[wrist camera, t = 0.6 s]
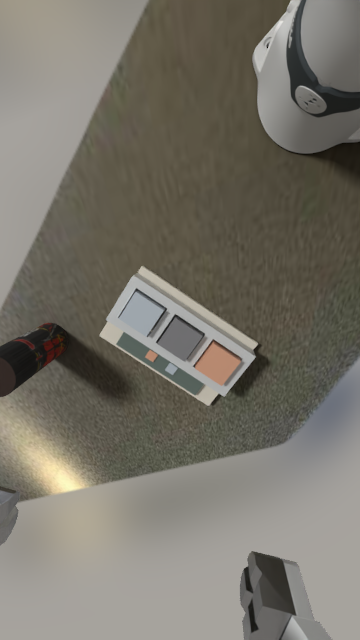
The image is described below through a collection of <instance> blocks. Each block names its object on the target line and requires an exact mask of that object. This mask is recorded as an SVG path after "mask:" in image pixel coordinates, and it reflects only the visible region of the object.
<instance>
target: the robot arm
mask: <svg viewBox="0 0 360 640" xmlns="http://www.w3.org/2000/svg"><path fill="white" fill-rule="evenodd" d="M268 45H269V46H268ZM266 46H268V49H267V47H266ZM252 60H253V66H254V69H255V72H256V75H257V78H258V97H257V102H258V111H259V116H260V119H261V122H262V125H263V127H264V129H265V130H266V132H267V133H268V135H269V136H270V137H271V138H272V140H273V141H275V142H276V143H277V144H278V145H280V146H281V147H283V148H285V149H287V150H289V151H292V152H296V153H305V154H308V153H316V152H320V151H323V150H326V149H328V148H331V147H333V146H335V145H337V144H340V143H351V142H360V0H291V2H290V4H289V5H288V7H287V11H286V13H285V14H284V15H283V16H282V17H281V18H280V20H279V21H278V22H277V23H276V24H275V25H274V27H273V28H272V29H271V30H270V31H269V33H268V34H267V35H266V36H265V37H264V38H263V40H262V41H261V42H260V43H259V44H258V45H257V47H256V49H255V51H254V53H253V58H252ZM19 495H20V492H18V491H14V490H11V489H8V488H4V487H1V486H0V545H1V544H3V543H4V542H5V541H6V540H7V538H8V537H9V535H10V534H11V532H12V529H13V527H14V525H15V523H16V519H17V516H18V509H17V507H16V506H15V505H16V504H17V502H18V501H19ZM240 601H241V605H242V607H243V608H244V611H245V612H246V613H245V616H244V618H243V621H242V622H243V632H244V640H332V639H331V637H330V636H329V635H328V633H327V632H326V631H325V629H324V628H323V627H322V625H321V624H320V622H317V621H315V620H314V617H313V614H312V610H311V607H310V603H309V600H308V597H307V593H306V590H305V586H304V583H303V580H302V576H301V573H300V569H299V566H298V564H297V563H296V562H293V561H289V560H285V559H280V558H278V557H274V556H270V555H265V554H262V553H257V552H253V551H252V552H251V553H250V554H249V556H248V567H246V568H244V570H243V573H242V576H241V583H240Z"/></svg>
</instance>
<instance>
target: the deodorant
mask: <svg viewBox="0 0 360 640" xmlns="http://www.w3.org/2000/svg"><path fill="white" fill-rule="evenodd" d="M67 346H68V337H67V334H66V332H65V331H64V330H63V329H62V328H61V327H60V326H58V325H56V324H53V323H46V324H43V325H41V326H39V327H38V328H36V329H34V330H32V331H30V332H28V333H26V334H24V335H22V336H20V337H18V338H16V339H14V340H12V341H10V342H8V343H6V344H4V345H2V346H0V397H3V396H6V395H8V394H10V393H11V392H12V391H14V390H15V389H16V388H17V387H19V386H20V385H21V384H23V383H24V382H25V381H26V380H28V379H29V378H30V377H32V376H33V375H34V374H36V373H37V372H38V371H39V370H41V369H42V368H43V367H45V366H46V365H47V364H49V363H50V362H51V361H52V360H54V359H55V358H56V357H58V356H59V355H60V354H62V353H63V352H64V351H65V350H66V348H67Z"/></svg>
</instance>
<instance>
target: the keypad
mask: <svg viewBox="0 0 360 640" xmlns="http://www.w3.org/2000/svg"><path fill="white" fill-rule="evenodd" d="M137 290H140V291H142V292H143V293H145V294H146V295H148V296H149V297H151V298H152V299H154V300H155V301H157V302H158V303H160V304H161V305H163V306H164V307H166V308H165V310H164V311H163V313H162V314H161V316H160V317H159V319H158V320H157V322H156V323H155V325H154V326H153V328H152V329H151V331H150V332H149V334H148V335H147V337H146V336H144V335H143V334H141V333H140V332H138V331H137V330H135V329H133V328H132V327H130V326H129V325H127V324H126V323H124V322H123V321H121V320H120V319H119V317H120V316H121V314H122V313H123V311H124V309H125V308H126V306H127V305H128V303H129V301H130V300H131V298H132V296H133V295H134V293H135V292H136V291H137ZM176 315H178V316H179V317H181V318H182V319H184V320H185V321H187V322H188V323H190V324H191V325H193V326H194V327H196V328H197V329H199V330H200V331H202V332H203V337H202V338H201V340H200V341H199V342H198V344H197V345H196V347H195V348H194V349H193V351H192V352H191V353H190V355H189V356H188V357H187V359H186V360H185V362H184V361H182V360H181V359H179V358H178V357H176V356H175V355H173V354H172V353H170V352H169V351H167V350H166V349H164V348H163V347H161V346H159V345H158V342H159V339H160V338H161V336H162V335H163V334H164V332H165V331H166V329H167V328H168V326H169V325H170V323H171V322H172V320H173V319H174V317H175V316H176ZM106 320H107V321H108V322H107V324H106V325H105V327H104V329H103V330H102V332H101V334H100V335H99V336H101V337H102V338H104V339H105V340H107V341H108V342H110V343H111V344H113V345H115V346H116V347H118V348H119V349H121V350H122V351H124V352H125V353H127V354H128V355H130V356H132V357H133V358H135V359H136V360H138V361H139V362H141V363H142V364H144V365H146V366H147V367H149V368H150V369H152V370H153V371H155V372H156V373H158V374H159V375H161V376H163V377H164V378H166V379H167V380H169V381H170V382H172V383H173V384H175V385H177V386H178V387H180V388H181V389H183V390H184V391H186V392H187V393H189V394H190V395H192V396H194V397H195V398H197V399H198V400H200V401H201V402H203V403H204V404H206V405H207V406H209V405H210V404H211V402H212V401H213V400H214V399H215V397H216V396H217V395H218V394H220V395H222V396H225V395H226V394H227V392H228V391H229V390H230V389H231V387H232V386H233V385H234V384H235V382H236V381H237V380H238V379H239V377H240V376H241V375H242V374H243V372H244V371H245V370H246V369H247V367H248V366H249V365H250V364H251V363H252V361H253V360H254V359H255V358H256V356H255V353H254V351H253V350H254V348H255V347H256V346H257V345H258V343H257V341H255V340H254V339H252V338H251V337H249V336H248V335H246V334H245V333H243V332H242V331H240V330H239V329H237V328H236V327H234V326H233V325H231V324H230V323H228V322H227V321H225V320H224V319H222V318H221V317H219V316H218V315H216V314H215V313H213V312H212V311H210V310H209V309H207V308H206V307H204V306H203V305H201V304H200V303H198V302H197V301H196V300H194V299H193V298H191V297H190V296H188V295H187V294H185V293H184V292H182V291H181V290H179V289H178V288H176V287H175V286H173V285H172V284H170V283H169V282H167V281H166V280H164V279H163V278H161V277H160V276H158V275H157V274H155V273H154V272H152V271H151V270H149V269H148V268H146V267H145V266H142V267H141V268H140V270H139V272H138V273H136V274H134V275H133V276H132V278H131V279H130V281H129V283H128V284H127V286H126V288H125V289H124V291H123V292H122V294H121V296H120V297H119V299H118V301H117V302H116V304H115V306H114V307H113V309H112V310H111V312H110V314H109V315H108V317H107V319H106ZM213 339H214V340H215V341H217V342H218V343H220V344H221V345H223V346H224V347H226V348H227V349H229V350H230V351H232V352H233V353H235V354H236V355H238V356H240V360H241V362H240V364H239V365H238V366H237V367H236V369H235V370H234V371H233V373H232V374H231V375H230V376H229V378H228V379H227V380H226V381H225V383H224V384H223V385H222V386H221V385H219V384H218V383H216V382H215V381H213V380H212V379H210V378H208V377H207V376H205V375H204V374H202V373H201V372H199V371H198V370H196V369H195V365H196V362H197V360H198V359H199V358H200V356H201V355H202V354H203V352H204V351H205V350H206V348H207V347H208V346H209V344H210V343H211V341H212V340H213Z"/></svg>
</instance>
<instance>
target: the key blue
mask: <svg viewBox="0 0 360 640" xmlns="http://www.w3.org/2000/svg"><path fill="white" fill-rule="evenodd" d="M165 308H166V307H164V306H163V305H161V304H160V303H158V302H157V301H155V300H154V299H152V298H151V297H149V296H148V295H146V294H145V293H143V292H142V291H140V290H137V291H136V292H135V293H134V295H133V296H132V298H131V300H130V301H129V303H128V305H127V306H126V308H125V309H124V311H123V313H122V314H121V316H120V317H119V319H120V320H121V321H123V322H124V323H126V324H127V325H129V326H130V327H132V328H133V329H135V330H137V331H138V332H140V333H141V334H143V335H144V336H146V337H147V335H148V334H149V332H150V331H151V329H152V328H153V326H154V325H155V323H156V322H157V320H158V319H159V317H160V316H161V314H162V313H163V311H164V310H165Z"/></svg>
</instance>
